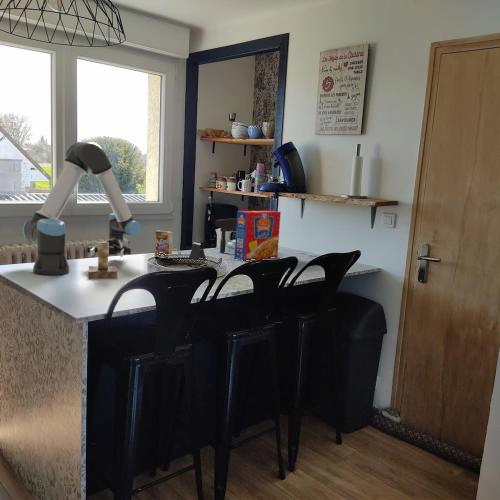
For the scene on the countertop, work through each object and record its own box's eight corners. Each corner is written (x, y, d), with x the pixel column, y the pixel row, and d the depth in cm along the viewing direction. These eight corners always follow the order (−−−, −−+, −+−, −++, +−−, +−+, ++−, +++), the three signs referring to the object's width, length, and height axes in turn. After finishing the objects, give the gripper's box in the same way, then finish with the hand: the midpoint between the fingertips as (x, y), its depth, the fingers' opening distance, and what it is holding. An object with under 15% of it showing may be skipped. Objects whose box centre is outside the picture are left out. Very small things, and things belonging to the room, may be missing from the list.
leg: (97, 276, 217) (97, 243, 215) (97, 273, 222) (97, 241, 219) (108, 276, 219) (109, 243, 216) (108, 273, 223) (108, 241, 221)
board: (88, 278, 213) (88, 271, 212) (88, 272, 224) (88, 266, 223) (117, 278, 216) (117, 271, 216) (115, 272, 228) (115, 266, 227)
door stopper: (193, 267, 251) (195, 244, 249) (186, 265, 255) (187, 242, 254) (207, 265, 258) (208, 243, 256) (199, 263, 262) (201, 241, 260)
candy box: (154, 258, 270) (154, 230, 268) (157, 256, 274) (158, 230, 272) (168, 259, 267) (169, 232, 265) (172, 258, 271) (173, 231, 269)
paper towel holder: (207, 217, 302) (247, 216, 324) (206, 251, 305) (245, 248, 327) (223, 220, 290) (263, 219, 312) (222, 255, 293) (261, 251, 316)
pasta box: (243, 261, 276) (246, 212, 272) (234, 259, 282) (237, 211, 277) (277, 258, 296) (280, 212, 291) (267, 255, 301) (270, 210, 297)
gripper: (138, 254, 249) (133, 262, 228) (87, 252, 246) (78, 260, 225) (138, 240, 248) (134, 246, 227) (87, 237, 244) (78, 244, 224)
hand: (106, 253), depth 226 cm, fingers open, 13 cm apart
